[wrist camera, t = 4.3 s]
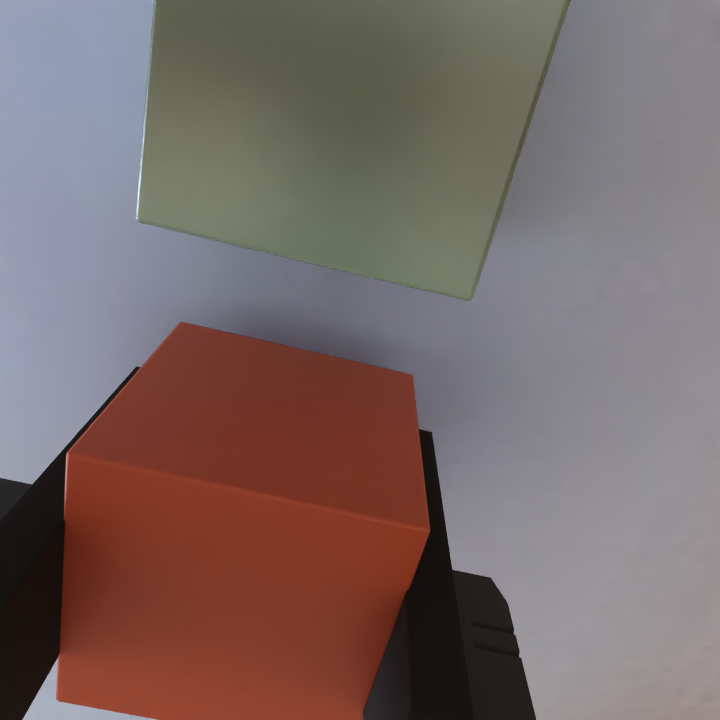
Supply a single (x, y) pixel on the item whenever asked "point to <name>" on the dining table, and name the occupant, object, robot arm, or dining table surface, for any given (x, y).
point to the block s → (240, 534)
